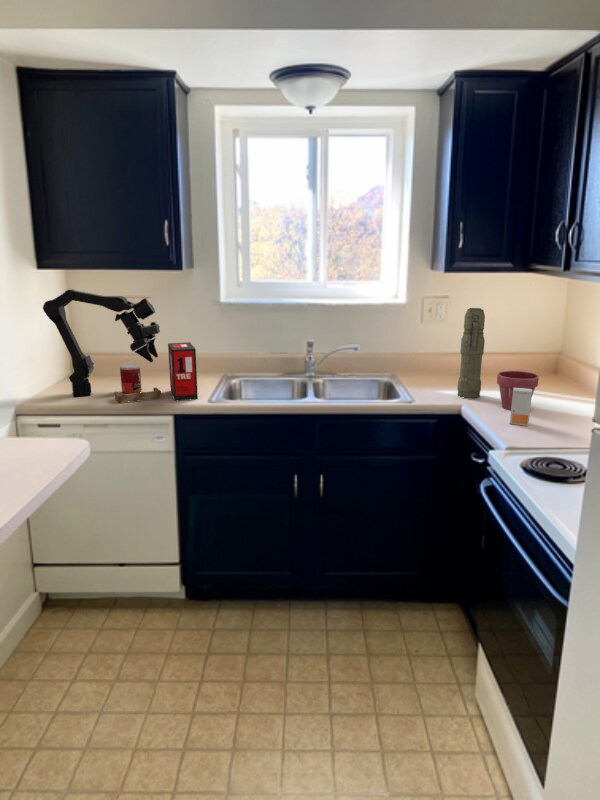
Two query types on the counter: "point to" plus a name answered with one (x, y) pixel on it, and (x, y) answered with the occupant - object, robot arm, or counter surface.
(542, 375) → the counter surface
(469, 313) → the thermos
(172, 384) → the cleaning product box
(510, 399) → the plant pot
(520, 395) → the skincare box
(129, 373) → the canned food
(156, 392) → the tan bone-shaped block
